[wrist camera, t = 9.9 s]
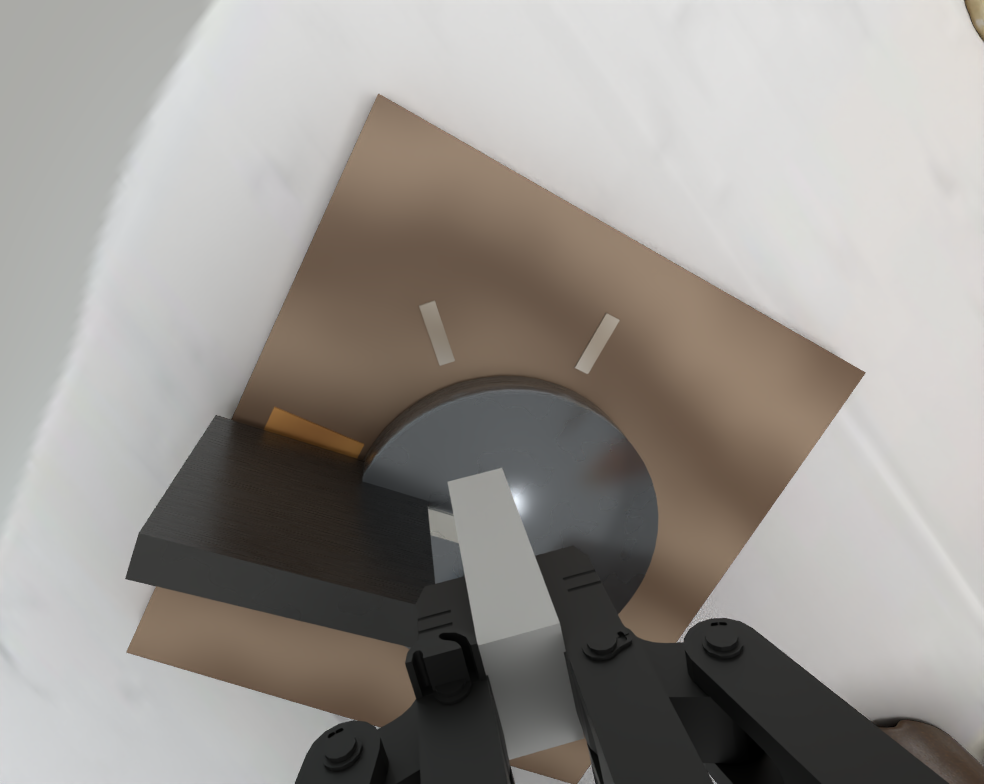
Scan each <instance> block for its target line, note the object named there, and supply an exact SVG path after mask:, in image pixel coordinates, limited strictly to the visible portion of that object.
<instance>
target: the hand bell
mask: <svg viewBox="0 0 984 784" xmlns="http://www.w3.org/2000/svg"><path fill="white" fill-rule="evenodd" d="M965 3H966V6H967V9H968V12H969V14H970V17H971V20H972V23H973V25H974V27H975V28H976V30H977V32H978V33H979V35H980V36H981V38H982V39H983V40H984V0H965Z"/></svg>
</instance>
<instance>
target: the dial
mask: <svg viewBox="0 0 984 784" xmlns="http://www.w3.org/2000/svg"><path fill="white" fill-rule="evenodd" d="M499 468H502V469H503V472H504V474H505V477H506V480H507V482H508V485H509V488H510V491H511V493H512V496H513V499H514V501H515V504H516V507H517V509H518V512H519V515H520V517H521V520H522V523H523V525H524V528H525V531H526V533H527V536H528V539H529V542H530V544H531V547H532V550H533V552H534V555H535V556H536V555H540V554H543V553H547V552H551V551H555V550H558V549H562V548H566V547H570V546H574V547H576V548H577V549H579V550H581V551H582V552H584V553H585V554H587V555H588V557H589V559H590V561H591V563H592V564H593V566H594V568H595V571H596V572H597V574H598V576H599V578H600V580H601V583H602V584H603V586H604V588H605V590H606V592H607V594H608V596H609V598H610V600H611V602H612V604H613V606H614V608H615V610H616V612H617V614H619V613H620V612H621V611H622V609H623V608H624V607H625V606H626V604H627V603H628V602H629V601H630V599H631V598H632V597H633V595H634V594H635V592H636V591H637V589H638V587H639V586H640V584H641V583H642V581H643V579H644V577H645V574H646V572H647V570H648V568H649V566H650V563H651V560H652V556H653V553H654V550H655V546H656V540H657V534H658V506H657V497H656V493H655V490H654V486H653V482H652V479H651V477H650V475H649V472H648V470H647V468H646V466H645V463H644V462H643V460H642V459H641V457H640V456H639V454H638V452H637V451H636V449H635V448H634V447H633V445H632V444H631V443H630V442H629V440H628V439H627V438H626V437H625V435H624V434H623V433H622V432H621V430H620V429H619V428H618V427H617V426H616V424H615V423H614V422H613V421H612V420H611V419H610V418H609V417H608V415H607V414H606V413H604V412H603V411H602V410H601V409H600V408H599V407H597V406H596V405H595V404H594V403H593V402H591V401H589V400H588V399H586V398H585V397H583V396H581V395H580V394H578V393H576V392H574V391H572V390H570V389H567V388H565V387H563V386H561V385H558V384H554V383H551V382H548V381H544V380H541V379H534V378H528V377H521V376H495V377H485V378H478V379H474V380H469V381H465V382H461V383H457V384H455V385H452V386H449V387H446V388H444V389H441V390H439V391H437V392H435V393H433V394H431V395H429V396H427V397H425V398H423V399H421V400H420V401H418V402H417V403H415V404H414V405H412V406H411V407H409V408H408V409H406V410H405V411H404V412H403V413H401V414H400V415H399V416H398V417H397V418H396V419H395V420H393V421H392V422H391V423H390V424H389V425H388V426H387V427H386V429H385V430H384V431H383V432H382V433H381V434H380V435H379V437H378V438H377V439H376V440H375V442H374V443H373V445H372V446H371V448H370V449H369V451H368V453H367V454H366V456H365V458H364V460H360V459H357V458H354V457H351V456H347V455H344V454H341V453H338V452H334V451H331V450H328V449H325V448H321V447H318V446H315V445H312V444H308V443H305V442H302V441H299V440H295V439H292V438H289V437H286V436H282V435H279V434H276V433H273V432H269V431H266V430H263V429H260V428H256V427H253V426H250V425H247V424H243V423H240V422H237V421H234V420H230V419H227V418H224V417H221V416H217V415H216V416H215V417H214V419H213V420H212V422H211V423H210V425H209V427H208V428H207V430H206V431H205V433H204V434H203V436H202V437H201V439H200V440H199V442H198V443H197V445H196V446H195V448H194V449H193V451H192V453H191V454H190V456H189V457H188V459H187V460H186V462H185V463H184V465H183V466H182V468H181V469H180V471H179V472H178V474H177V476H176V477H175V479H174V480H173V482H172V483H171V485H170V486H169V488H168V489H167V491H166V492H165V494H164V495H163V497H162V499H161V500H160V502H159V503H158V505H157V506H156V508H155V509H154V511H153V512H152V514H151V515H150V517H149V518H148V520H147V522H146V523H145V525H144V526H143V528H142V529H141V531H140V532H139V534H138V538H137V541H136V544H135V548H134V551H133V555H132V558H131V561H130V565H129V568H128V571H127V575H126V578H125V579H128V580H132V581H136V582H140V583H144V584H149V585H153V586H157V587H161V588H165V589H169V590H173V591H178V592H182V593H186V594H190V595H194V596H198V597H203V598H207V599H211V600H215V601H219V602H223V603H227V604H232V605H236V606H240V607H244V608H248V609H252V610H257V611H261V612H265V613H269V614H273V615H277V616H281V617H286V618H290V619H294V620H298V621H302V622H306V623H311V624H315V625H319V626H323V627H327V628H331V629H335V630H340V631H344V632H348V633H352V634H356V635H360V636H365V637H369V638H373V639H377V640H381V641H385V642H389V643H394V644H398V645H402V646H405V647H407V648H408V649H410V648H411V647H412V646H413V644H414V643H415V642H416V641H418V640H419V639H418V635H419V633H418V623H417V622H418V620H417V607H416V603H417V601H418V598H419V596H420V594H421V592H422V590H423V588H424V587H425V586H429V585H433V584H437V583H440V582H444V581H448V580H452V579H455V578H459V577H463V576H465V574H464V569H463V563H462V558H461V552H460V547H459V542H458V536H457V531H456V525H455V520H454V514H453V509H452V504H451V498H450V493H449V487H448V481H452V480H456V479H460V478H464V477H468V476H472V475H476V474H480V473H483V472H487V471H491V470H495V469H499Z"/></svg>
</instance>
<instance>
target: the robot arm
mask: <svg viewBox="0 0 984 784" xmlns="http://www.w3.org/2000/svg"><path fill="white" fill-rule="evenodd" d="M448 487H449V493H450V498H451V504H452V509H453V514H454V520H455V525H456V531H457V536H458V542H459V547H460V552H461V558H462V563H463V569H464V574H465V576H463V577H459V578H455V579H452V580H448V581H444V582H440V583H437V584H433V585H429V586H425V587H424V588H423V590H422V592H421V594H420V596H419V598H418V601H417V603H416V607H417V620H418V622H417V623H418V633H419V635H418V639H419V640H418V641H416V642H415V643H414V644H413V646H412V647H411V648H410V650H409V651H408V652H407V656H406V660H405V665H406V669H407V672H408V675H409V678H410V681H411V684H412V688H413V691H414V694H415V697H416V700H415V701H414V702H413V704H412V705H411V707H410V708H408V709H407V710H406V711H405V712H404V713H403V714H402V715H401V716H399V717H398V718H396V719H395V720H393V721H392V722H390V723H388V724H386V725H385V726H383V727H381V728H379V729H378V730H377V729H376V727H374V726H373V725H371V724H369V723H368V722H366V721H354V720H353V721H349V722H345V723H341V724H338V725H336V726H335V727H333V728H331V729H329V730H327V731H325V732H324V733H323V734H322V735H321V736H320V737H319V738H318V739H317V740H316V741H315V742H314V743H313V744H312V746H311V748H310V749H309V751H308V753H307V754H306V757H305V759H304V762H303V764H302V767H301V769H300V772H299V774H298V777H297V779H296V781H295V784H515V781H514V778H513V774H512V770H511V766H510V762H509V760H511V759H514V758H518V757H521V756H525V755H528V754H532V753H535V752H539V751H542V750H546V749H549V748H553V747H556V746H560V745H563V744H567V743H570V742H574V741H577V740H581V739H584V735H585V738H586V741H587V746H588V751H589V755H590V760H591V765H592V770H593V774H594V779H595V784H713V782H712V780H711V778H710V776H711V777H712V778H713V779H714V780H715V781H716V782H717V784H949V783H948V782H947V781H945V780H944V779H943V778H942V777H940V776H939V775H938V774H937V773H935V772H934V771H933V770H932V769H930V768H929V767H928V766H926V765H925V764H924V763H923V762H921V761H920V760H919V759H918V758H916V757H915V756H914V755H913V754H911V753H910V752H909V751H907V750H906V749H905V748H904V747H902V746H901V745H900V744H899V743H897V742H896V741H895V740H894V739H892V738H891V737H890V736H888V735H887V734H886V733H885V732H883V731H882V730H881V729H880V728H878V727H877V726H876V725H875V724H873V723H872V722H871V721H869V720H868V719H867V718H866V717H864V716H863V715H862V714H861V713H859V712H858V711H857V710H856V709H854V708H853V707H852V706H850V705H849V704H848V703H847V702H845V701H844V700H843V699H842V698H840V697H839V696H838V695H837V694H835V693H834V692H833V691H831V690H830V689H829V688H828V687H826V686H825V685H824V684H823V683H821V682H820V681H819V680H818V679H816V678H815V677H814V676H812V675H811V674H810V673H809V672H807V671H806V670H805V669H804V668H802V667H801V666H800V665H799V664H797V663H796V662H795V661H793V660H792V659H791V658H790V657H788V656H787V655H786V654H785V653H783V652H782V651H781V650H780V649H778V648H777V647H776V646H774V645H773V644H772V643H771V642H769V641H768V640H767V639H766V638H764V637H763V636H762V635H760V634H759V633H758V632H757V631H755V630H754V629H753V628H751V627H749V626H748V625H746V624H744V623H742V622H740V621H736V620H732V619H727V618H716V619H709V620H705V621H702V622H699V623H697V624H696V625H695V626H693V627H692V628H690V629H689V630H688V632H687V634H686V636H685V638H684V643H658V642H651V641H647V640H643V639H641V638H639V637H637V636H636V635H635V634H634V633H633V632H632V631H631V630H630V629H629V628H627V627H625V626H624V625H623V623H622V621H621V620H620V618H619V616H618V614H617V612H616V610H615V608H614V606H613V604H612V602H611V600H610V598H609V596H608V594H607V592H606V590H605V588H604V586H603V584H602V583H601V580H600V578H599V576H598V574H597V572H596V571H595V568H594V566H593V564H592V563H591V561H590V559H589V557H588V555H587V554H585V553H584V552H582V551H581V550H579V549H577V548H576V547H574V546H570V547H566V548H562V549H558V550H555V551H551V552H547V553H543V554H540V555H536V556H535V555H534V552H533V550H532V547H531V544H530V542H529V539H528V536H527V533H526V531H525V528H524V525H523V523H522V520H521V517H520V515H519V512H518V509H517V507H516V504H515V501H514V499H513V496H512V493H511V491H510V488H509V485H508V482H507V480H506V477H505V474H504V472H503V469H502V468H499V469H495V470H491V471H487V472H483V473H480V474H476V475H472V476H468V477H464V478H460V479H456V480H452V481H448ZM583 732H584V734H583ZM708 773H709V774H710V776H709V774H708Z"/></svg>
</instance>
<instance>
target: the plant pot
mask: <svg viewBox="0 0 984 784" xmlns="http://www.w3.org/2000/svg"><path fill="white" fill-rule="evenodd" d="M878 728H880V729H881V730H882V731H883V732H885V733H886V734H887V735H888V736H890V737H891V738H892V739H894V740H895V741H896V742H897V743H899V744H900V745H901V746H902V747H904V748H905V749H906V750H907V751H909V752H910V753H911V754H913V755H914V756H915V757H916V758H918V759H919V760H920V761H921V762H923V763H924V764H925V765H926V766H928V767H929V768H930V769H932V770H933V771H934V772H935V773H937V774H938V775H939V776H940V777H942V778H943V779H944V780H945V781H947V782H948V783H949V784H984V766H982V765H981V764H980V763H979V762H978V761H977V760H976V759H975V758H974V757H973V756H972V755H971V754H970V753H969V752H968V751H966V750H965V749H964V748H963V747H962V746H961V745H960V744H959V743H958V742H957V741H956V740H955V739H953V738H952V737H951V736H950V735H948V734H947V733H945V732H944V731H942V730H940V729H938V728H936V727H934V726H932V725H929V724H926V723H922V722H917V721H910V720H901V721H899V722H898V723H897V725H896V726H895V727H889V728H882V727H878Z"/></svg>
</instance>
